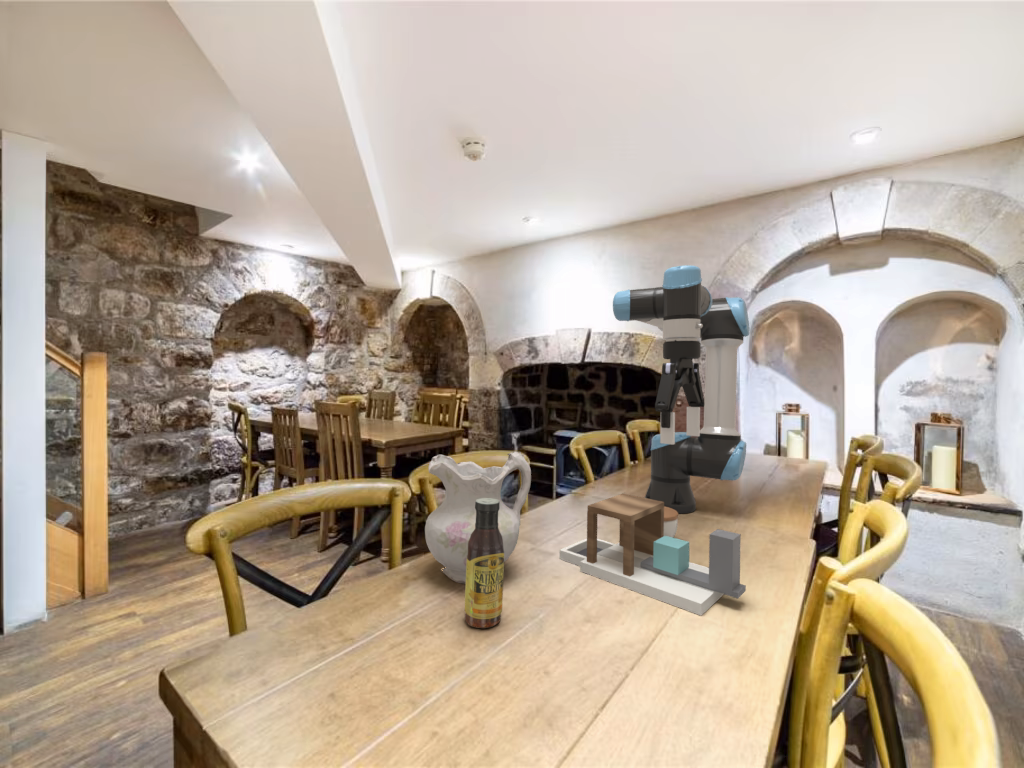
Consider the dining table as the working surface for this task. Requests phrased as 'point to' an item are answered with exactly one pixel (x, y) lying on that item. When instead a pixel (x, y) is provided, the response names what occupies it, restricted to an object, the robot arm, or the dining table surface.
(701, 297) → the robot arm
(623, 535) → the tunnel
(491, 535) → the sauce bottle
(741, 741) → the dining table surface
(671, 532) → the lidded jar
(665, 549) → the block
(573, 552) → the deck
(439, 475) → the ceramic pitcher
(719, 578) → the grey l-shaped piece
